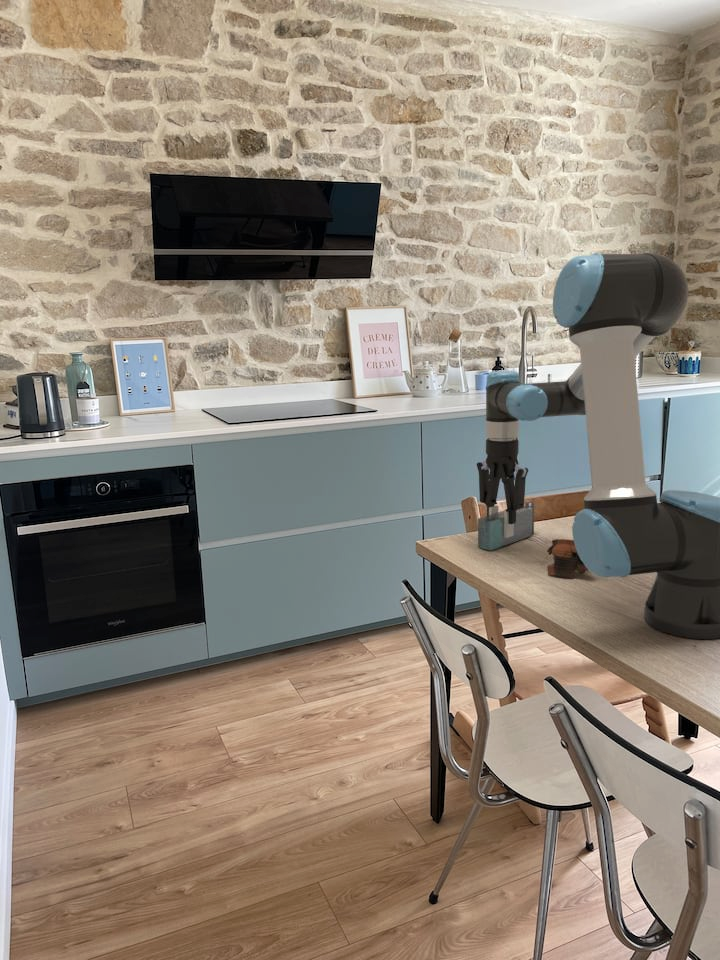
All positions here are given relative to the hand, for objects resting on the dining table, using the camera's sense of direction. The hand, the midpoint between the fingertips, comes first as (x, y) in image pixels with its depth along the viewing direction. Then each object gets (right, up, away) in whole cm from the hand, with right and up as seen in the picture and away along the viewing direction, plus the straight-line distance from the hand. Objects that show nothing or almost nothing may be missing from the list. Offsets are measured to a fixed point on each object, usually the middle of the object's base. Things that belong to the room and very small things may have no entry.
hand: (501, 534), depth 178 cm
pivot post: (+9, 0, +8) cm, 12 cm away
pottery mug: (+11, -7, -20) cm, 24 cm away
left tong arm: (+1, -2, +2) cm, 3 cm away
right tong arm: (+2, -2, +1) cm, 3 cm away
